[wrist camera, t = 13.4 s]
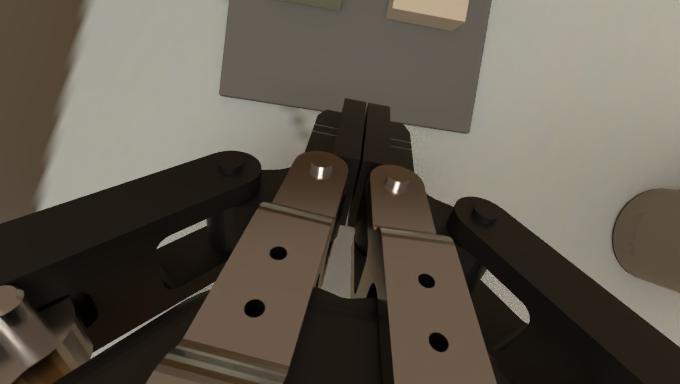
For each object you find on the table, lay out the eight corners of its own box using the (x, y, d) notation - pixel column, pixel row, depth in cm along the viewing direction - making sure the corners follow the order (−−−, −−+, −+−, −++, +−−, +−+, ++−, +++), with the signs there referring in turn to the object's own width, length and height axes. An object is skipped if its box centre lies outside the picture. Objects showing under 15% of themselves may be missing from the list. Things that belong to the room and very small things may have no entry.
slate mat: (496, -49, 30) (500, -53, 30) (466, 133, 32) (469, 133, 31) (242, -104, 28) (240, -110, 27) (220, 95, 29) (219, 94, 29)
